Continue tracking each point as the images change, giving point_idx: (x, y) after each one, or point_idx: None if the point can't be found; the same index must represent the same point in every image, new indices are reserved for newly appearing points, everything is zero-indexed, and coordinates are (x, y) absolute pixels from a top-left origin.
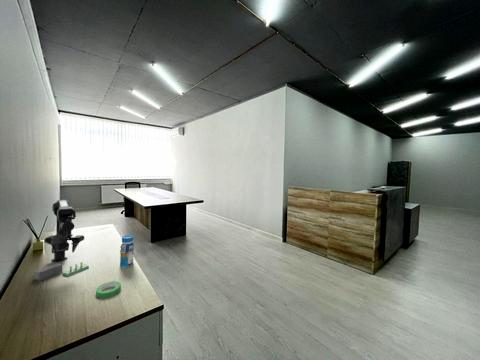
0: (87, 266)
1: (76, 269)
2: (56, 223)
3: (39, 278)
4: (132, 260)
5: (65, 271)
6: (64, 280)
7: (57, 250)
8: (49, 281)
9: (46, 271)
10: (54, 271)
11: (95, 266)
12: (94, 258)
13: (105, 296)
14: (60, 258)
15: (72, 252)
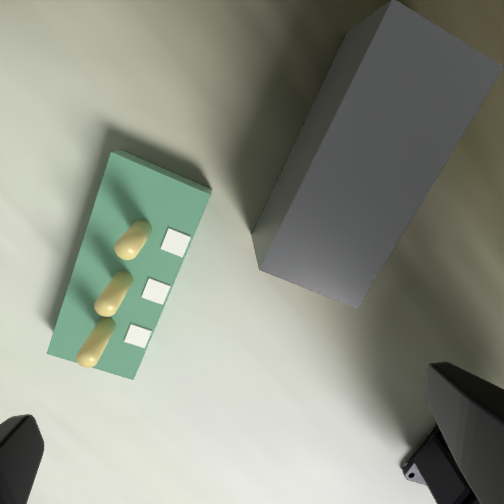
0: (51, 339)
1: (102, 262)
2: None
3: (356, 25)
4: None
5: (187, 210)
6: (69, 49)
7: (449, 435)
8: (226, 24)
9: (341, 93)
10: (289, 175)
11: (14, 367)
12: (168, 497)
13: None
14: (444, 451)
15: (28, 414)
